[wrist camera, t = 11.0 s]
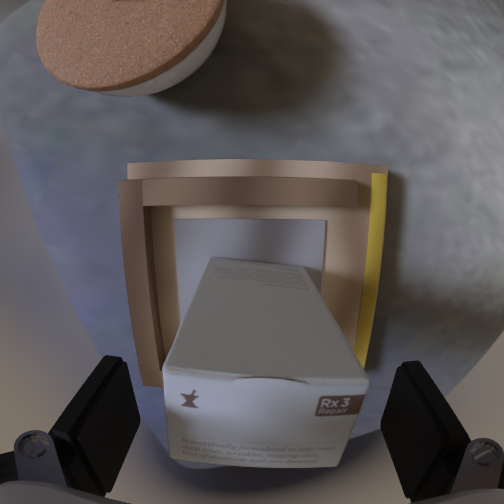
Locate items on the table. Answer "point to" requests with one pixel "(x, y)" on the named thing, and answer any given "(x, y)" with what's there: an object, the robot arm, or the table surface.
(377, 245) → the frame
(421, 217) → the table surface
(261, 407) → the skincare box
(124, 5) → the lidded jar
